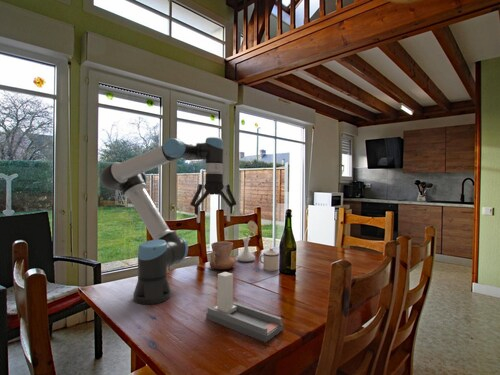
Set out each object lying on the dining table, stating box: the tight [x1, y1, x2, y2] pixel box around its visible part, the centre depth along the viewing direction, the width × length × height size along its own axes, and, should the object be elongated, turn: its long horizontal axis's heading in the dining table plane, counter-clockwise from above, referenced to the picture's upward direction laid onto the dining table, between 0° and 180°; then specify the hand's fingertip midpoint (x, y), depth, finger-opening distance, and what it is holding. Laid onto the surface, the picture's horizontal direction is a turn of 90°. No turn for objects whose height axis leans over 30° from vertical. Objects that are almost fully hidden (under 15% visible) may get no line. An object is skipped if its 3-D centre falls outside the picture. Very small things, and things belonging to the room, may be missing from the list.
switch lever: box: [212, 271, 237, 314], centre depth 108 cm, size 6×6×13 cm
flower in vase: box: [236, 220, 258, 262], centre depth 185 cm, size 13×11×25 cm
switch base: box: [205, 301, 284, 343], centre depth 103 cm, size 26×10×4 cm, turn 53°
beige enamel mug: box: [258, 247, 280, 272], centre depth 169 cm, size 12×9×12 cm
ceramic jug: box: [209, 241, 236, 271], centre depth 168 cm, size 18×14×14 cm
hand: (213, 221), depth 130 cm, fingers open, 13 cm apart
